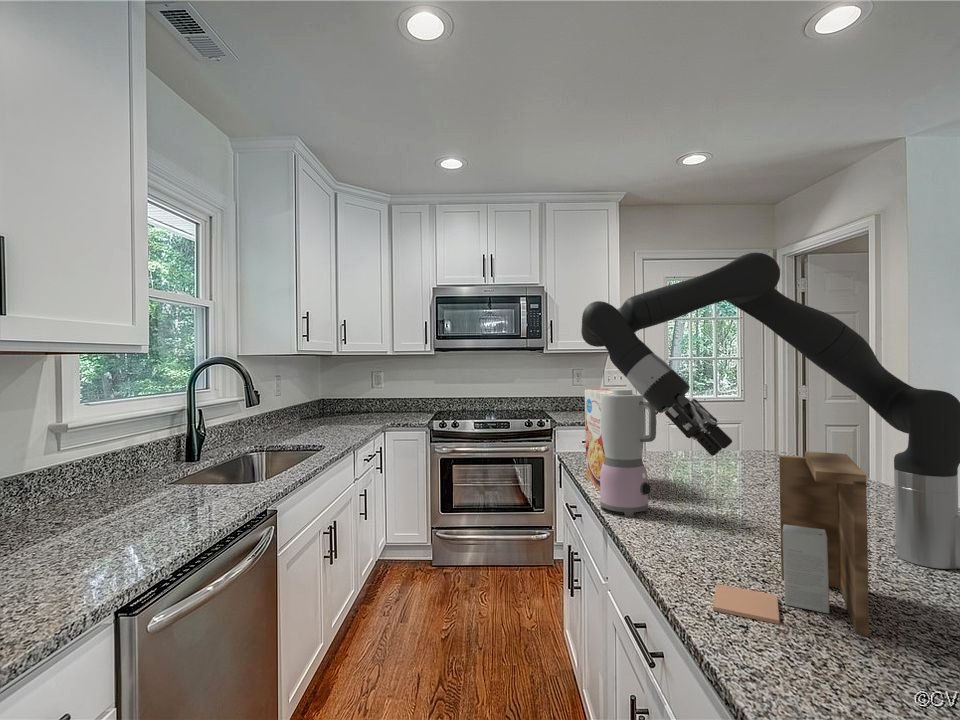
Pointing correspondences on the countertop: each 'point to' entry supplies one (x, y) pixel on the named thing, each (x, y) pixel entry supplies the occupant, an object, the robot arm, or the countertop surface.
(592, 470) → the pasta box
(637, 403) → the blender
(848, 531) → the walnut cubby
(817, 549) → the skincare box
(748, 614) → the terracotta tile
